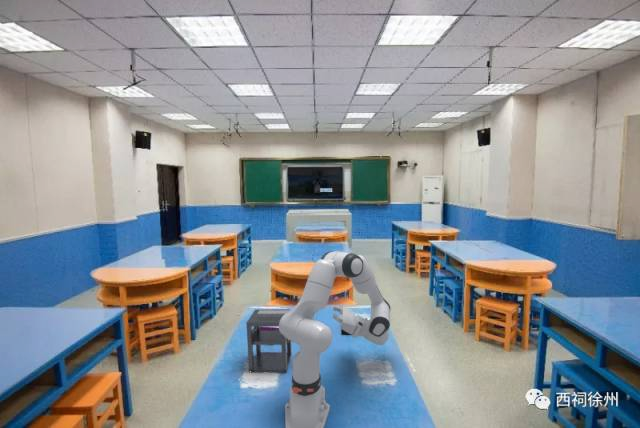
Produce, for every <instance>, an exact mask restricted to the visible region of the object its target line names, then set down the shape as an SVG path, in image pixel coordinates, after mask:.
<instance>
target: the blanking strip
mask: <svg viewBox="0 0 640 428" xmlns="http://www.w3.org/2000/svg"><path fill="white" fill-rule="evenodd" d="M291 310H292V309H290V310H259V312H258V313H257V316H258V317H283V315H285V314H286V313H288V312H290V311H291Z"/></svg>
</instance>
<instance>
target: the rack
mask: <svg viewBox="0 0 640 428" xmlns="http://www.w3.org/2000/svg"><path fill="white" fill-rule="evenodd" d="M259 310H291V309H281V308H280V309H278V308H277V309H273V308H272V309H254V310H253V312H252V314H251V315H250V317H249V318H248V319H247V321H246V339H247V356H248V372H249V371H251V372H250V373H264V372H269V373H275V374H276V373H280V374H283V373H286V374H287V373H288V370H289V367H290V362H291V358H292V354H293V353H292V341H291V340H288V339H287V338H286V337H284V336H283V335H282V334H281V333H280V331H260V327H277V328H279V322H280V320H281V318H282V317H258V316H257V313H258V312H259ZM254 345H255V348H256V349H255V350H256V354H255V357H254ZM262 345H263V346H266V345H267V346H269V345H270V346H271V345H272V346H275V345H276V346H278V345H279V346H280V345H281V352H274V351H273V352H267V351H266V352H265V351H262Z"/></svg>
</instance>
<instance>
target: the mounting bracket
mask: <svg viewBox="0 0 640 428" xmlns="http://www.w3.org/2000/svg"><path fill="white" fill-rule="evenodd" d="M260 331H279V327H260Z"/></svg>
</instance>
